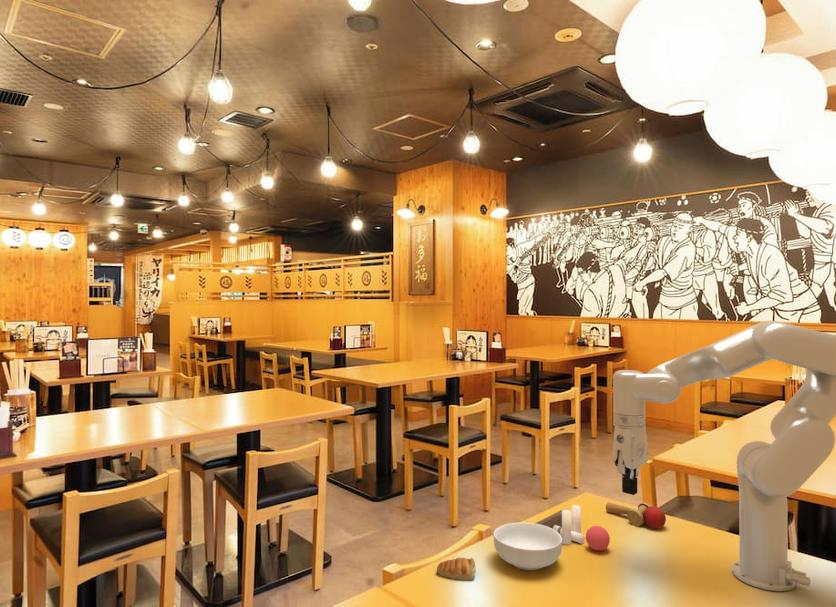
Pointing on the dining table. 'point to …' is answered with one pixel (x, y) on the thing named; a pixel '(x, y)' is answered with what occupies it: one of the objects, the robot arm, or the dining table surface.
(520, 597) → the dining table surface
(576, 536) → the front pin
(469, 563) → the pastry
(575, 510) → the pin
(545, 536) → the cereal bowl
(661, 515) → the kendama
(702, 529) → the dining table surface
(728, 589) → the dining table surface
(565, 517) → the pin
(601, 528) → the ball
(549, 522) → the wall
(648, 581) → the dining table surface
